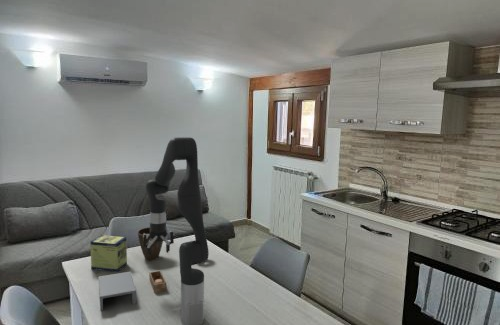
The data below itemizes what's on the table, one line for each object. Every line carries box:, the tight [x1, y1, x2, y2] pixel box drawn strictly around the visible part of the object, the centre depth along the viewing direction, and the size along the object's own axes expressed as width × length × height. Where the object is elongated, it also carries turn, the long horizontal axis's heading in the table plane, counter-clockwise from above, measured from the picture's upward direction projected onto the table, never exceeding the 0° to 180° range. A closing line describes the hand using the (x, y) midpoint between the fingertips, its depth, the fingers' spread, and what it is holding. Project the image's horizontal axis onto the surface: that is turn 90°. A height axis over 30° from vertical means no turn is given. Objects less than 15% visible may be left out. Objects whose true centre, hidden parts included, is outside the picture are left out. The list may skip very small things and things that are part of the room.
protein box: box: [90, 234, 128, 273], centre depth 190 cm, size 10×16×16 cm
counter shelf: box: [98, 271, 137, 312], centre depth 160 cm, size 20×14×6 cm
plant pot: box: [137, 226, 164, 261], centre depth 203 cm, size 15×15×16 cm
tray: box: [148, 270, 167, 294], centre depth 170 cm, size 6×14×4 cm, turn 25°
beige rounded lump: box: [155, 279, 162, 284], centre depth 167 cm, size 3×3×4 cm
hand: (158, 253), depth 169 cm, fingers open, 8 cm apart
